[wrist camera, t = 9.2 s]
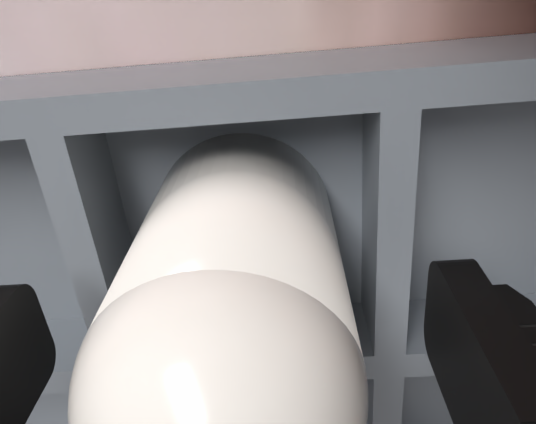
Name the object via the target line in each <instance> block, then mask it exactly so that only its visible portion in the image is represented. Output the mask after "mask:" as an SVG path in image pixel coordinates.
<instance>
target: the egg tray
mask: <svg viewBox="0 0 536 424" xmlns="http://www.w3.org/2000/svg"><path fill="white" fill-rule="evenodd" d="M233 133H250V134H259V135H263V136H267V137H271V138H273V139H276V140H279V141H281V142H283V143H285V144H287V145H289V146H291V147H292V148H294V149H295V150H296V151H298V152H299V153H301V154H302V155H303V156H304V157H305V158H306V159H307V160H308V161H309V162H310V163H311V164H312V165H313V167H314V168H315V169H316V171H317V172H318V174H319V176H320V177H321V179H322V181H323V183H324V186H325V188H326V191H327V195H328V199H329V204H330V208H331V213H332V218H333V222H334V227H335V231H336V236H337V240H338V245H339V249H340V254H341V258H342V263H343V268H344V272H345V277H346V281H347V286H348V290H349V295H350V299H351V304H352V308H353V313H354V318H355V322H356V327H357V331H358V336H359V340H360V345H361V349H362V354H363V358H364V363H365V368H366V375H367V383H368V396H369V400H368V418H367V424H453V422H452V419H451V416H450V414H449V411H448V409H447V406H446V403H445V401H444V398H443V395H442V393H441V390H440V387H439V385H438V382H437V380H436V377H435V374H434V372H433V369H432V366H431V364H430V361H429V358H428V355H427V351H426V346H425V340H424V316H425V304H426V293H427V281H428V270H429V266H430V263H431V262H432V261H441V260H458V259H475V260H476V261H477V262H478V264H479V265H480V267H481V268H482V270H483V271H484V273H485V274H486V276H487V277H488V279H489V280H490V282H491V283H492V285H499V284H508V285H509V286H510V287H512V288H513V289H515V290H516V291H518V292H519V293H521V294H522V295H524V296H525V297H526V298H528V299H529V300H531V301H532V302H533V303H534V305H535V306H536V33H528V34H516V35H504V36H492V37H479V38H467V39H455V40H443V41H431V42H418V43H406V44H394V45H382V46H370V47H358V48H345V49H333V50H321V51H309V52H297V53H284V54H272V55H260V56H248V57H236V58H224V59H211V60H199V61H187V62H175V63H163V64H150V65H138V66H126V67H114V68H102V69H90V70H77V71H65V72H53V73H41V74H29V75H16V76H4V77H0V285H14V284H28V285H30V286H31V287H32V288H33V289H34V291H35V292H36V295H37V297H38V300H39V303H40V306H41V308H42V311H43V314H44V316H45V319H46V322H47V324H48V327H49V330H50V332H51V335H52V338H53V340H54V344H55V348H56V361H55V367H54V370H53V373H52V375H51V378H50V379H49V381H48V383H47V385H46V387H45V389H44V390H43V392H42V394H41V396H40V398H39V400H38V401H37V403H36V405H35V407H34V409H33V411H32V412H31V414H30V416H29V418H28V420H27V422H26V423H25V424H68V397H69V385H70V381H71V376H72V371H73V367H74V364H75V360H76V357H77V354H78V351H79V349H80V346H81V344H82V342H83V339H84V337H85V335H86V333H87V331H88V329H89V327H90V325H91V323H92V321H93V319H94V317H95V315H96V313H97V312H98V310H99V308H100V306H101V304H102V302H103V300H104V298H105V296H106V294H107V292H108V290H109V288H110V286H111V284H112V282H113V280H114V278H115V276H116V274H117V272H118V270H119V268H120V266H121V264H122V262H123V260H124V258H125V256H126V255H127V253H128V251H129V249H130V247H131V245H132V243H133V241H134V239H135V237H136V235H137V233H138V231H139V229H140V227H141V225H142V223H143V221H144V219H145V217H146V215H147V213H148V211H149V209H150V207H151V205H152V203H153V201H154V199H155V197H156V196H157V194H158V192H159V190H160V188H161V186H162V184H163V182H164V180H165V178H166V176H167V174H168V172H169V170H170V169H171V168H172V166H173V165H174V163H175V162H176V161H177V160H178V159H179V158H180V157H181V156H182V155H183V154H184V153H185V152H187V151H188V150H189V149H191V148H192V147H194V146H196V145H197V144H199V143H201V142H203V141H205V140H208V139H210V138H213V137H217V136H220V135H225V134H233Z"/></svg>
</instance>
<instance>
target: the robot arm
mask: <svg viewBox="0 0 536 424" xmlns="http://www.w3.org/2000/svg"><path fill="white" fill-rule="evenodd" d="M424 340H425V346H426V351H427V355H428V358H429V361H430V364H431V366H432V369H433V372H434V374H435V377H436V380H437V382H438V385H439V387H440V390H441V393H442V395H443V398H444V401H445V403H446V406H447V409H448V411H449V414H450V416H451V419H452V422H453V424H536V306H535V305H534V303H533V302H532V301H531V300H529V299H528V298H526V297H525V296H524V295H522V294H521V293H519V292H518V291H516V290H515V289H513V288H512V287H510V286H509V285H508V284H499V285H492V283H491V282H490V280H489V279H488V277H487V276H486V274H485V273H484V271H483V270H482V268H481V267H480V265H479V264H478V262H477V261H476V260H475V259H458V260H441V261H432V262H431V263H430V266H429V270H428V281H427V293H426V304H425V316H424ZM55 361H56V348H55V344H54V340H53V338H52V335H51V332H50V330H49V327H48V324H47V322H46V319H45V316H44V314H43V311H42V308H41V306H40V303H39V300H38V297H37V295H36V292H35V291H34V289H33V288H32V287H31V286H30V285H28V284H14V285H0V424H25V423H26V422H27V420H28V418H29V416H30V414H31V412H32V411H33V409H34V407H35V405H36V403H37V401H38V400H39V398H40V396H41V394H42V392H43V390H44V389H45V387H46V385H47V383H48V381H49V379H50V378H51V375H52V373H53V370H54V367H55Z"/></svg>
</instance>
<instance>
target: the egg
mask: <svg viewBox="0 0 536 424" xmlns="http://www.w3.org/2000/svg"><path fill="white" fill-rule="evenodd" d="M368 400H369V396H368V383H367V375H366V368H365V363H364V358H363V354H362V349H361V345H360V340H359V336H358V331H357V327H356V322H355V318H354V313H353V308H352V304H351V299H350V295H349V290H348V286H347V281H346V277H345V272H344V268H343V263H342V258H341V254H340V249H339V245H338V240H337V236H336V231H335V227H334V222H333V218H332V213H331V208H330V204H329V199H328V195H327V191H326V188H325V186H324V183H323V181H322V179H321V177H320V176H319V174H318V172H317V171H316V169H315V168H314V167H313V165H312V164H311V163H310V162H309V161H308V160H307V159H306V158H305V157H304V156H303V155H302V154H301V153H299V152H298V151H296V150H295V149H294V148H292V147H291V146H289V145H287V144H285V143H283V142H281V141H279V140H276V139H273V138H271V137H267V136H263V135H259V134H250V133H233V134H225V135H220V136H217V137H213V138H210V139H208V140H205V141H203V142H201V143H199V144H197V145H196V146H194V147H192V148H191V149H189V150H188V151H187V152H185V153H184V154H183V155H182V156H181V157H180V158H179V159H178V160H177V161H176V162H175V163H174V165H173V166H172V168H171V169H170V170H169V172H168V174H167V176H166V178H165V180H164V182H163V184H162V186H161V188H160V190H159V192H158V194H157V196H156V197H155V199H154V201H153V203H152V205H151V207H150V209H149V211H148V213H147V215H146V217H145V219H144V221H143V223H142V225H141V227H140V229H139V231H138V233H137V235H136V237H135V239H134V241H133V243H132V245H131V247H130V249H129V251H128V253H127V255H126V256H125V258H124V260H123V262H122V264H121V266H120V268H119V270H118V272H117V274H116V276H115V278H114V280H113V282H112V284H111V286H110V288H109V290H108V292H107V294H106V296H105V298H104V300H103V302H102V304H101V306H100V308H99V310H98V312H97V313H96V315H95V317H94V319H93V321H92V323H91V325H90V327H89V329H88V331H87V333H86V335H85V337H84V339H83V342H82V344H81V346H80V349H79V351H78V354H77V357H76V360H75V364H74V367H73V371H72V376H71V381H70V385H69V397H68V424H367V418H368Z"/></svg>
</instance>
